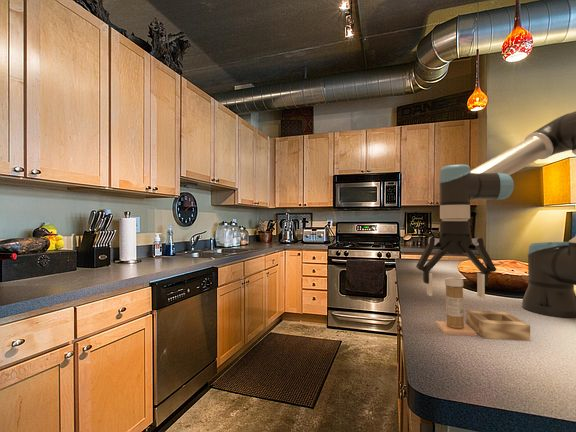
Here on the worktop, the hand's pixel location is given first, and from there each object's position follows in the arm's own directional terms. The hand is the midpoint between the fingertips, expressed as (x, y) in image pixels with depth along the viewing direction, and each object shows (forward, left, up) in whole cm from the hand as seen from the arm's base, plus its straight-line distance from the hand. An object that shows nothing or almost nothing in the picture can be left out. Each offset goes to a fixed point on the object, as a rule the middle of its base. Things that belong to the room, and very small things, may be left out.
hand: (454, 295), depth 87 cm
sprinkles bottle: (0, 0, -9) cm, 9 cm away
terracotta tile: (0, 0, -9) cm, 9 cm away
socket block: (-11, 0, -9) cm, 14 cm away
